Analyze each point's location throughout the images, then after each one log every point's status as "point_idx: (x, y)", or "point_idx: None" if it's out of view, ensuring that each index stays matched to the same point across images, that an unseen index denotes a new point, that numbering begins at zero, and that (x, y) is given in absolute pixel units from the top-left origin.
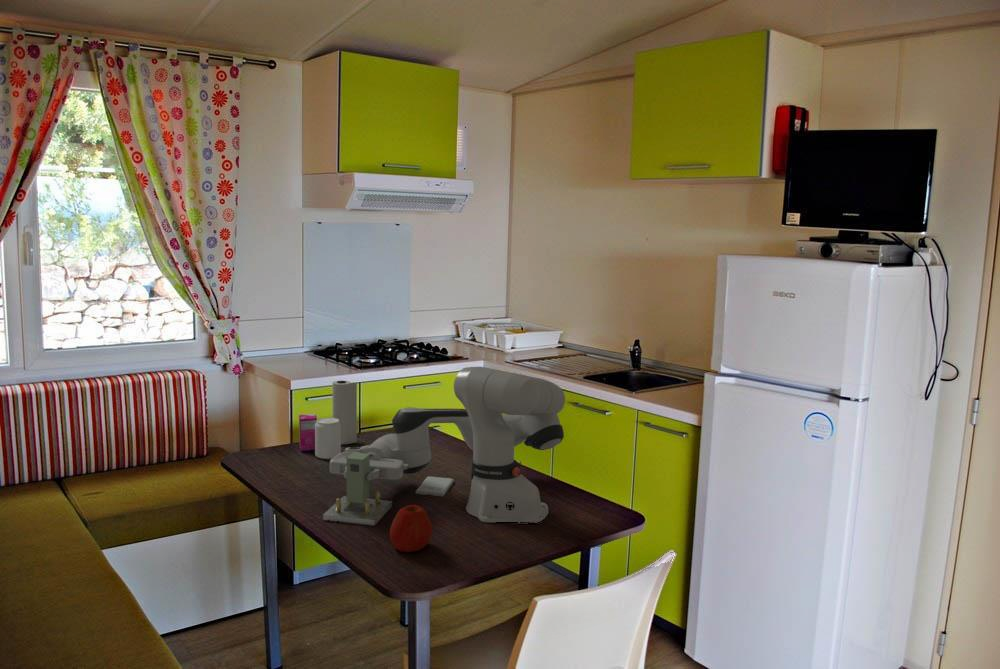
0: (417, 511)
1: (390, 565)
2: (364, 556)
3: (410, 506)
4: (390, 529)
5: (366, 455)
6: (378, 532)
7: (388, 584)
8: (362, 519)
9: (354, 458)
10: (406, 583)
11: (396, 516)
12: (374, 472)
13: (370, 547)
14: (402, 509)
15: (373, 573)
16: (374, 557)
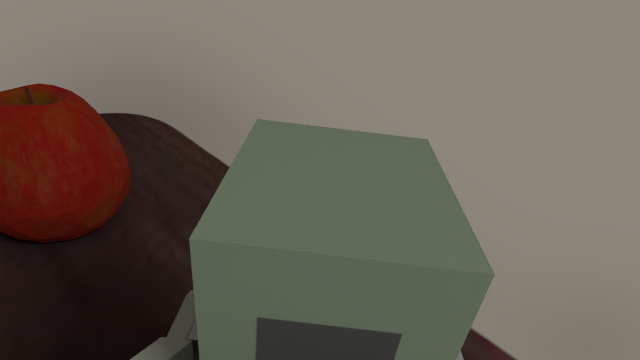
0: (19, 87)
1: (145, 157)
2: (206, 179)
3: (28, 105)
4: (125, 159)
5: (237, 191)
6: (164, 287)
7: (157, 124)
8: None
9: (348, 133)
10: (122, 124)
11: (99, 115)
12: (142, 353)
13: (193, 209)
14: (71, 95)
15: (184, 142)
16: (182, 177)
